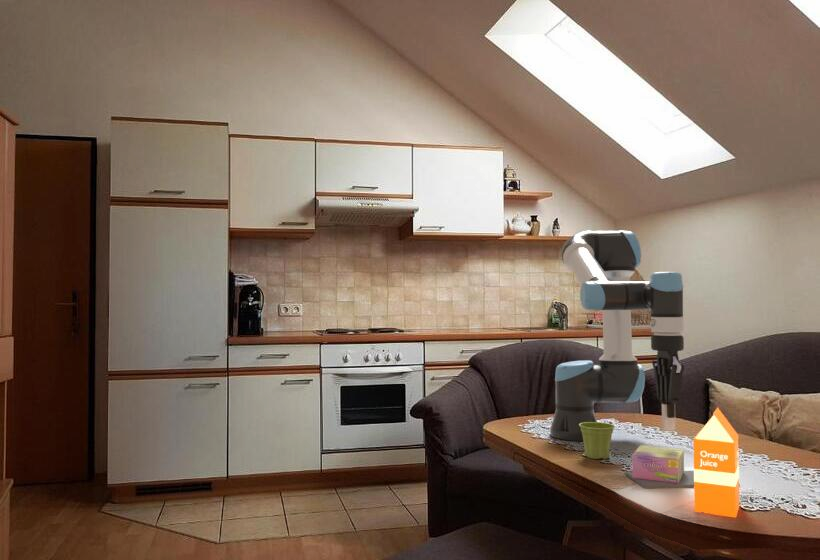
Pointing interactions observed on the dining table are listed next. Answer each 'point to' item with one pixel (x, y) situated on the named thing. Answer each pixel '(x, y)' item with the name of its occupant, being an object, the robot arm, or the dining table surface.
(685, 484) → the mat
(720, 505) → the orange juice
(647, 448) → the box
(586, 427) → the plant pot
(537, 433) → the dining table surface
